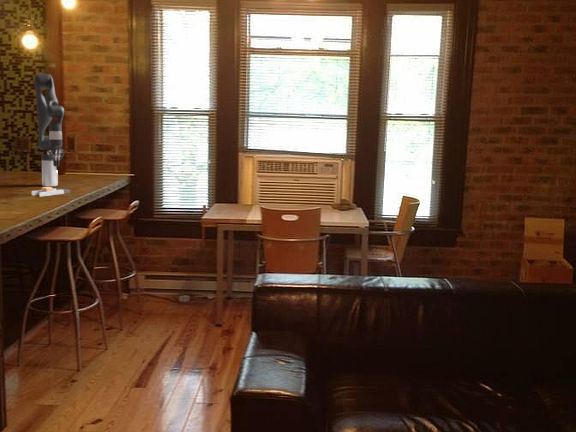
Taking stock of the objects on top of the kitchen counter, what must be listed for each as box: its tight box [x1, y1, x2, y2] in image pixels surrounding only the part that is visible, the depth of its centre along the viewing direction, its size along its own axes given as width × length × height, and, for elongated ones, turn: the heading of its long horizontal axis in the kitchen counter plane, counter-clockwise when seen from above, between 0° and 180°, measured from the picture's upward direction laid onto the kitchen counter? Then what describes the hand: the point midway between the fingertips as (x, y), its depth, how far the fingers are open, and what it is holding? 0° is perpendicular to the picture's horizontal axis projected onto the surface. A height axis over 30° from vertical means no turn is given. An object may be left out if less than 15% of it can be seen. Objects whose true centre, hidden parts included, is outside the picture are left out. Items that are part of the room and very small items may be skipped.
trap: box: [56, 188, 71, 195], centre depth 426 cm, size 5×8×2 cm, turn 59°
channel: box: [31, 187, 64, 198], centre depth 416 cm, size 18×8×2 cm, turn 149°
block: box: [41, 186, 54, 192], centre depth 415 cm, size 4×4×4 cm
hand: (56, 166), depth 419 cm, fingers closed
